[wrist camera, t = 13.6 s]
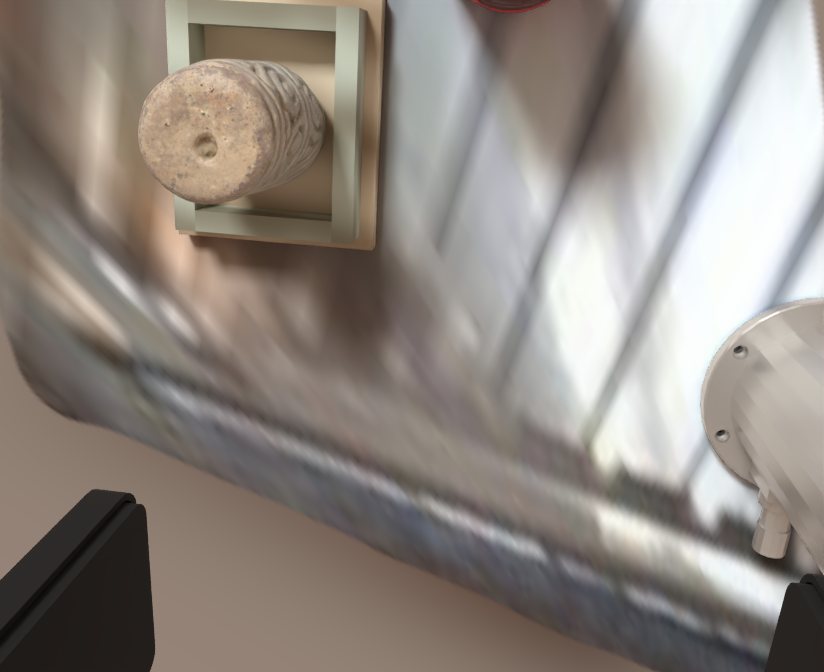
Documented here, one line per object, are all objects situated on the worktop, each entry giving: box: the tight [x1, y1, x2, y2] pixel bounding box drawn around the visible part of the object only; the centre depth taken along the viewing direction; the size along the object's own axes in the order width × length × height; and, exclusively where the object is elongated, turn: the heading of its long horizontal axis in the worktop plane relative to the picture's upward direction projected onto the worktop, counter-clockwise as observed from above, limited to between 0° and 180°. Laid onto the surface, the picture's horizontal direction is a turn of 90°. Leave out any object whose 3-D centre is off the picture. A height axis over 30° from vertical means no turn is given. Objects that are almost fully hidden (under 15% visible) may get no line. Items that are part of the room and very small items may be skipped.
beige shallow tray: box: [165, 0, 386, 250], centre depth 43 cm, size 14×12×4 cm
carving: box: [138, 59, 326, 204], centre depth 38 cm, size 6×8×12 cm
